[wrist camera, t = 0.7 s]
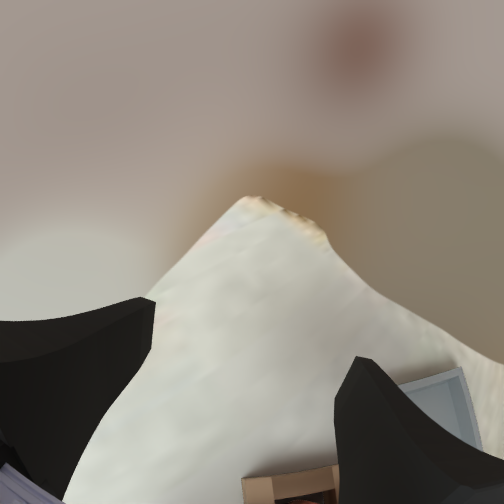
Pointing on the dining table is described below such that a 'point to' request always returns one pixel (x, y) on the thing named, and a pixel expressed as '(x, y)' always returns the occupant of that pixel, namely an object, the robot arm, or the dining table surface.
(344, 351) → the dining table surface
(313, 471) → the pin block
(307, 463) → the dining table surface
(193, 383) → the dining table surface
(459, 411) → the tray
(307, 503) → the pin
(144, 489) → the dining table surface
